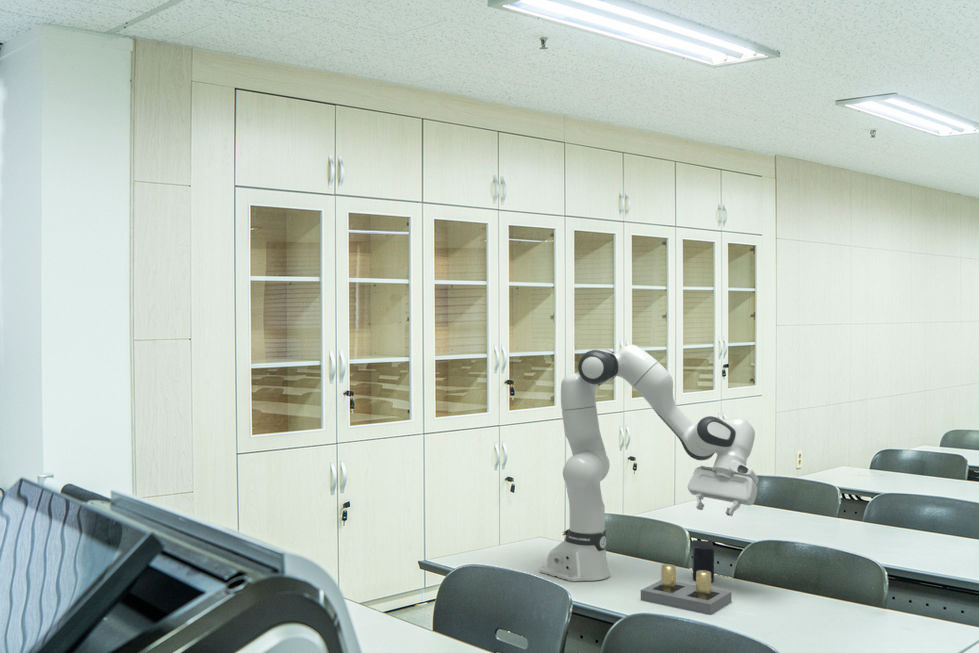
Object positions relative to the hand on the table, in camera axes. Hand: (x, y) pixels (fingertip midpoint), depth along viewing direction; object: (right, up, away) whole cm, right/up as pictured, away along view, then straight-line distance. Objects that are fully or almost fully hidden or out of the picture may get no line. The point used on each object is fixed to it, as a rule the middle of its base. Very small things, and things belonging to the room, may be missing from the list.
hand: (713, 511), depth 251 cm
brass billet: (-6, -23, -11) cm, 27 cm away
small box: (+2, -25, +19) cm, 31 cm away
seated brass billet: (-14, -23, -5) cm, 28 cm away
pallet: (-10, -24, -8) cm, 27 cm away
